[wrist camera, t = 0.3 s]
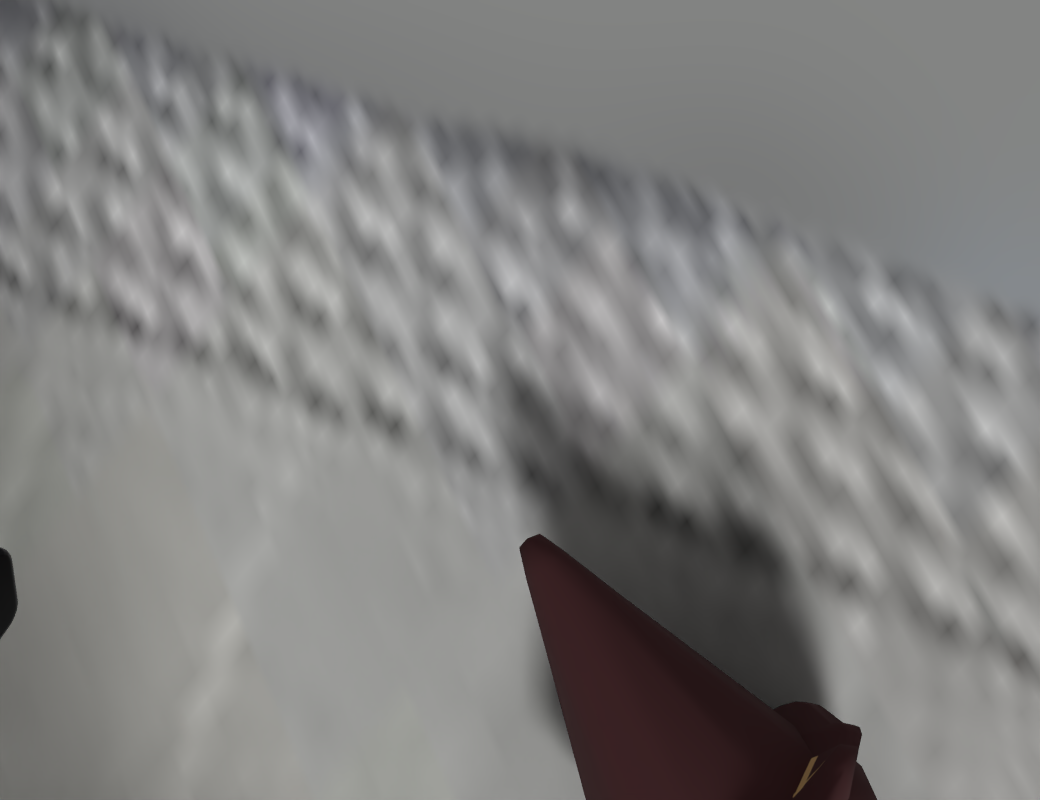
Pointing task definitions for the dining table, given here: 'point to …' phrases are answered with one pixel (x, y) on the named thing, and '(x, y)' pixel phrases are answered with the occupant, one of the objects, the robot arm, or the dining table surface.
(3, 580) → the robot arm
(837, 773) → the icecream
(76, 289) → the dining table surface
